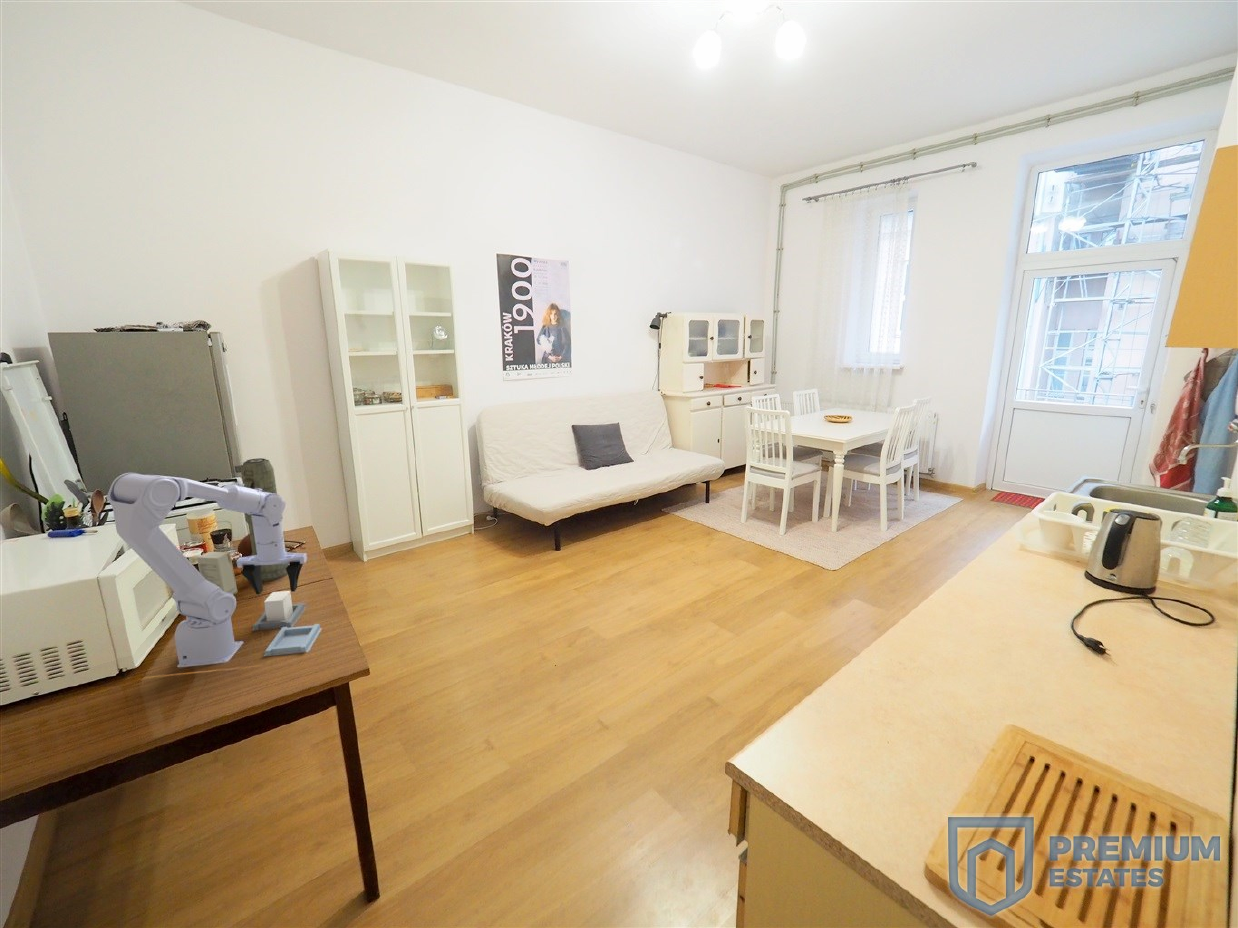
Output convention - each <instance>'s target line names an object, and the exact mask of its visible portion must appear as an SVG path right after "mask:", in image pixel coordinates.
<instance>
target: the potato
mask: <svg viewBox="0 0 1238 928" xmlns="http://www.w3.org/2000/svg"><path fill="white" fill-rule="evenodd" d="M238 552H239V553H241V554H242V557H249V556H251V555H252V546H251V539H250V533H249V534H247V535H245V536H244V537H243V538H242V539H241V540H240V541H239V543H238V545H237V552H236V553H238Z"/></svg>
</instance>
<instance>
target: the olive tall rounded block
mask: <svg viewBox="0 0 1238 928" xmlns="http://www.w3.org/2000/svg"><path fill="white" fill-rule="evenodd" d="M240 475H241V481H242V484H244V487H247V488H251V489H255V488H260V489H262V492H268V493H275V494H278V492H277V485H276V478H275V470H274V467H273V465H272V463H271V462H270V460H269V459H266V458H262V457H259V458H251V459H247V460H246V461H244V462H243V463H242V467H241V472H240ZM251 515H252V514H251ZM251 515H248V514H247V513H244V519H245V522H246V523H247V525H248V533H249V534H250V539H251V546H252V555H251V556H255V555H257V550H256V543H255V537H254V530H253V523H252V517H251ZM285 552H288V550H287V548H286V547H285ZM288 565H290V564H289V563H288V564H273V565H261V579H262V582H270V581H274V580H279V579H281V578H283V577H285V576H288V574H287V571H286V568H287V566H288Z"/></svg>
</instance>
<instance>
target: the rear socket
mask: <svg viewBox="0 0 1238 928" xmlns="http://www.w3.org/2000/svg"><path fill="white" fill-rule="evenodd" d="M307 607H308V606H306V603H305V602H300V603H292V608H293V613H292V614H291V616H290V617H289V618H288V620H277V621H267V617H266V611H265V610H264V612H263V613H262V614H261V615H260V617H259V618H258V619H257V620H256V622H255V623H254V624H253V626H252V629H251V631H252V632H253V631H261V630H271V629H282V627H287V628H290V627H295V625H296V623H297V622H298V621H299V619H300V617H301V616H302V615H303V614H304V613H305V612H304V611H306V609H307Z"/></svg>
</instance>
